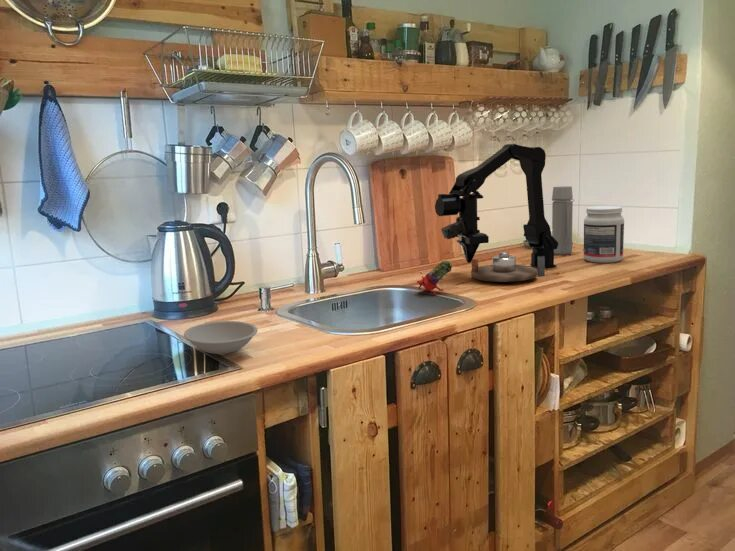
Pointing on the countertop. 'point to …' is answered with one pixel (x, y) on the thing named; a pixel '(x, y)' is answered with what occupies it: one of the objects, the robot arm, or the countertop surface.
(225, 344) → the dish
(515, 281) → the turntable base
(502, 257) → the aluminium cover
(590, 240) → the supplement tub
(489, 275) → the turntable
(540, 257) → the post
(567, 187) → the water bottle
